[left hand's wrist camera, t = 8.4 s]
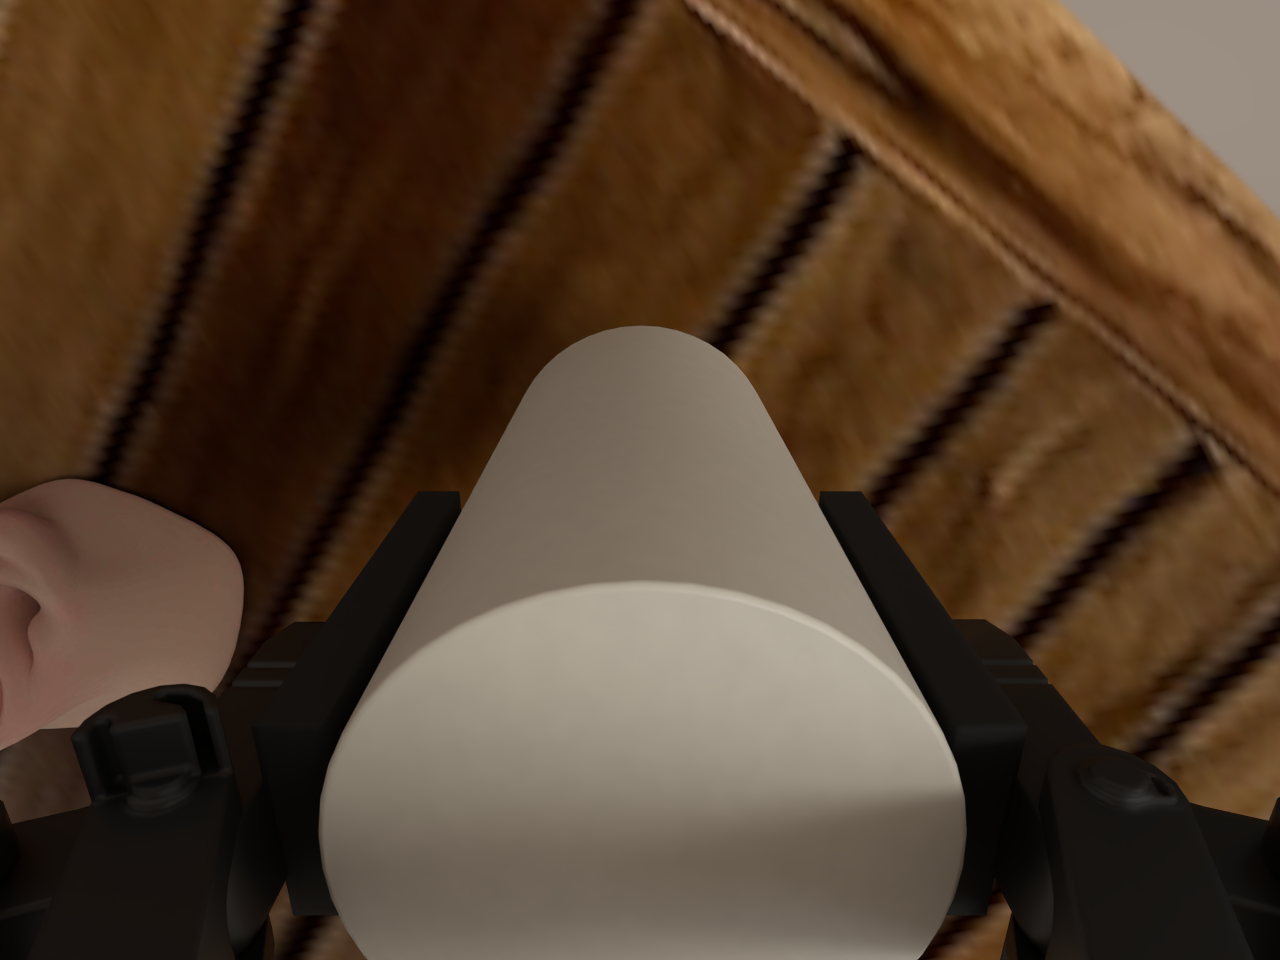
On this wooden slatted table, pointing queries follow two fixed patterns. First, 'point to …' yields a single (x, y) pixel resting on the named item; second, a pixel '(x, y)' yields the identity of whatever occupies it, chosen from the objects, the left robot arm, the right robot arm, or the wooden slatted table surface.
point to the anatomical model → (106, 603)
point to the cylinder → (642, 703)
